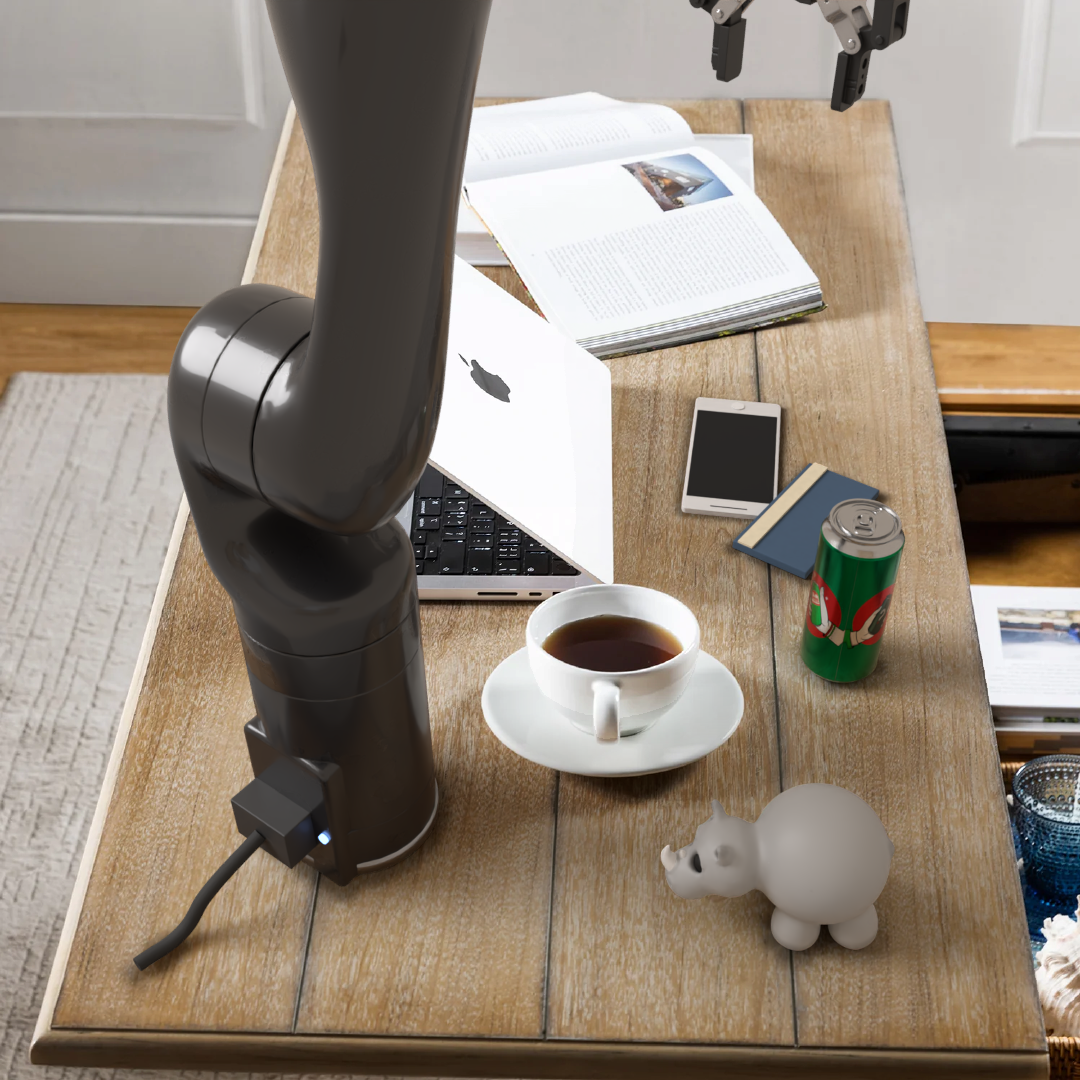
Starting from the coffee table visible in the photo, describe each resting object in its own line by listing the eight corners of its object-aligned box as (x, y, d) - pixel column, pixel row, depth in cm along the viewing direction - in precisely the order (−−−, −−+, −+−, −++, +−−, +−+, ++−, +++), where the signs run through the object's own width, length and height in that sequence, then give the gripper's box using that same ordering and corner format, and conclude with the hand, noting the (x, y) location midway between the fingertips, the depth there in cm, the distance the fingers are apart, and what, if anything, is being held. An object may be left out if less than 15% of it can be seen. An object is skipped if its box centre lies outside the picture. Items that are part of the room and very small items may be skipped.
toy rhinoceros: (652, 851, 73) (660, 753, 68) (863, 854, 73) (888, 755, 67) (659, 964, 67) (668, 866, 62) (887, 967, 67) (916, 869, 62)
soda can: (878, 641, 86) (910, 501, 78) (873, 694, 82) (906, 553, 75) (803, 628, 87) (827, 488, 79) (794, 679, 83) (818, 538, 76)
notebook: (805, 579, 91) (806, 570, 90) (731, 547, 94) (733, 538, 93) (878, 496, 98) (880, 487, 98) (808, 469, 101) (810, 460, 100)
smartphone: (780, 412, 108) (781, 402, 107) (774, 526, 96) (776, 516, 96) (695, 404, 109) (696, 395, 108) (680, 516, 97) (681, 506, 97)
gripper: (679, -190, 75) (662, 85, 85) (904, -159, 68) (856, 136, 79) (744, -209, 80) (721, 55, 90) (961, -181, 73) (909, 101, 83)
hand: (784, 93), depth 84 cm, fingers open, 8 cm apart
